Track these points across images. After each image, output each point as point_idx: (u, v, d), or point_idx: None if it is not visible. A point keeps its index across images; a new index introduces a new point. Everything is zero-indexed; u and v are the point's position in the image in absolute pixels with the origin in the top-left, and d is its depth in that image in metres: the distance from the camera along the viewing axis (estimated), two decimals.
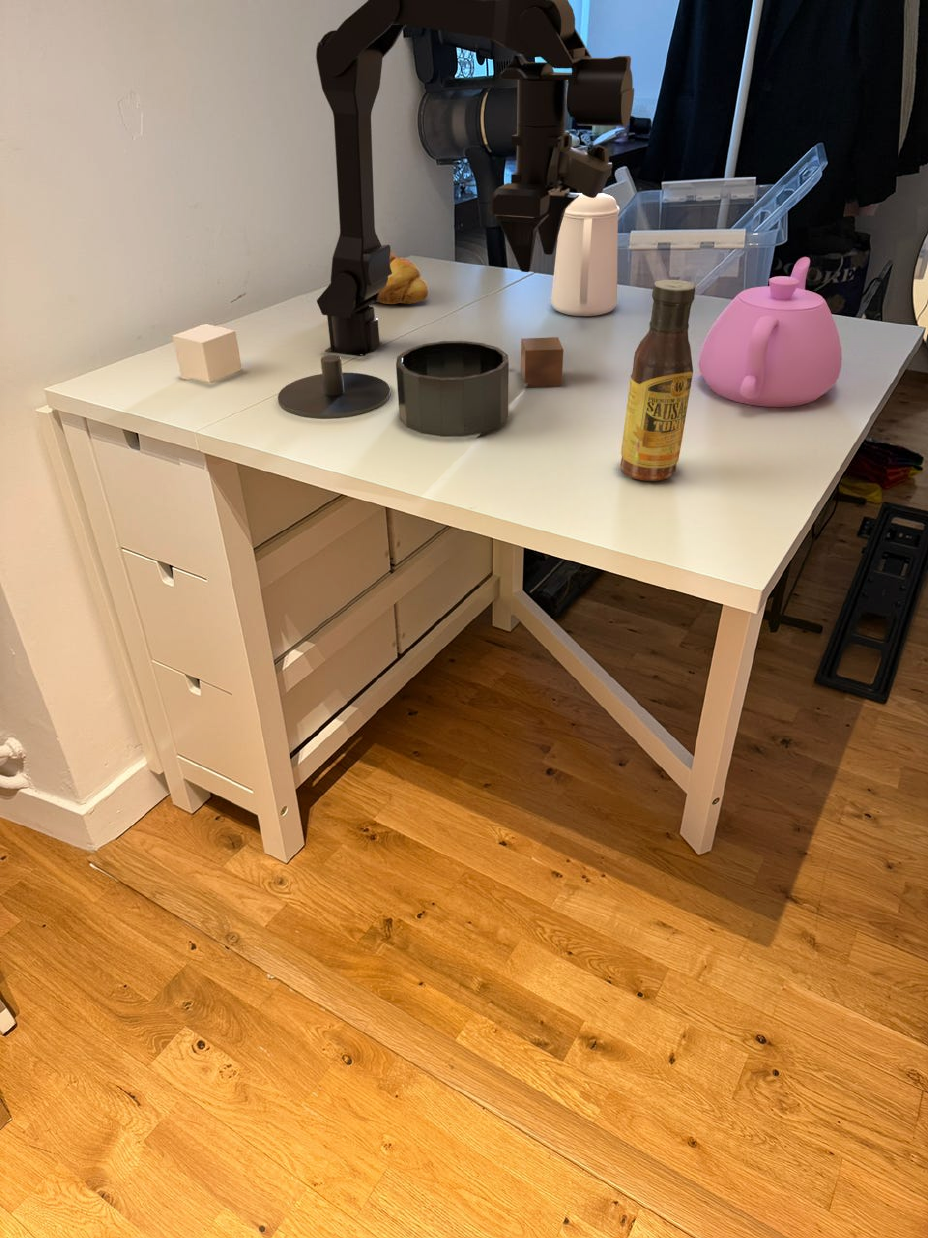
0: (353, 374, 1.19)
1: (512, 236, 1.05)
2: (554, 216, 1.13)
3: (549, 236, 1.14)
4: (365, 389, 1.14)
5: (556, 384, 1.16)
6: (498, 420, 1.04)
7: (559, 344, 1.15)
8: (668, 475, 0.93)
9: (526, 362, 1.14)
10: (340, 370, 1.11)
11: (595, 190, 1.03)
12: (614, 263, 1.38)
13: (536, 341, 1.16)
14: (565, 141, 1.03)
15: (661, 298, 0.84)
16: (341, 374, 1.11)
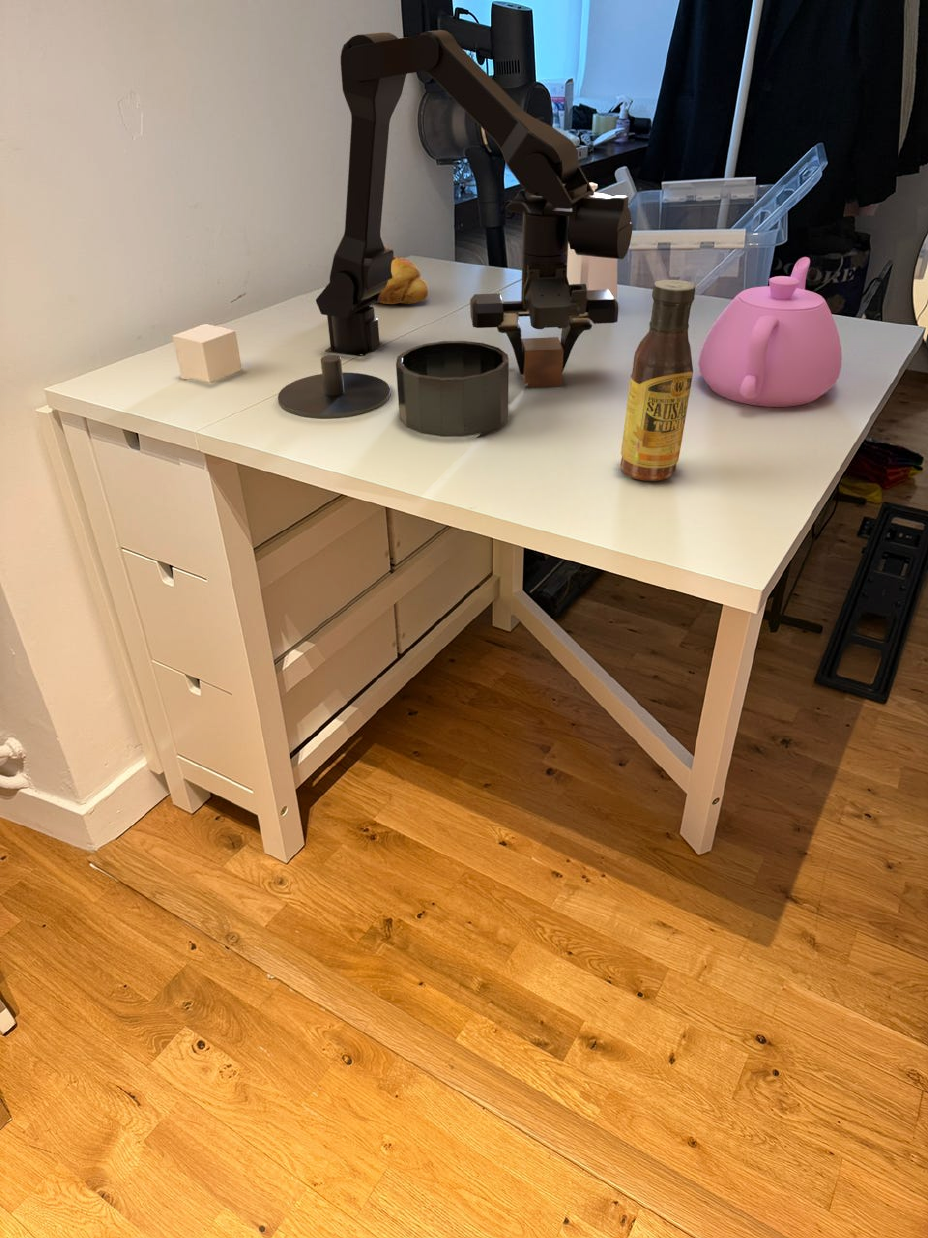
0: (353, 374, 1.19)
1: None
2: (564, 339, 1.15)
3: None
4: (365, 389, 1.14)
5: (556, 384, 1.16)
6: (498, 420, 1.04)
7: (559, 344, 1.15)
8: (668, 475, 0.93)
9: (526, 362, 1.14)
10: (340, 370, 1.11)
11: (535, 322, 1.06)
12: (614, 263, 1.38)
13: (536, 341, 1.16)
14: (552, 272, 1.07)
15: (661, 298, 0.84)
16: (341, 374, 1.11)
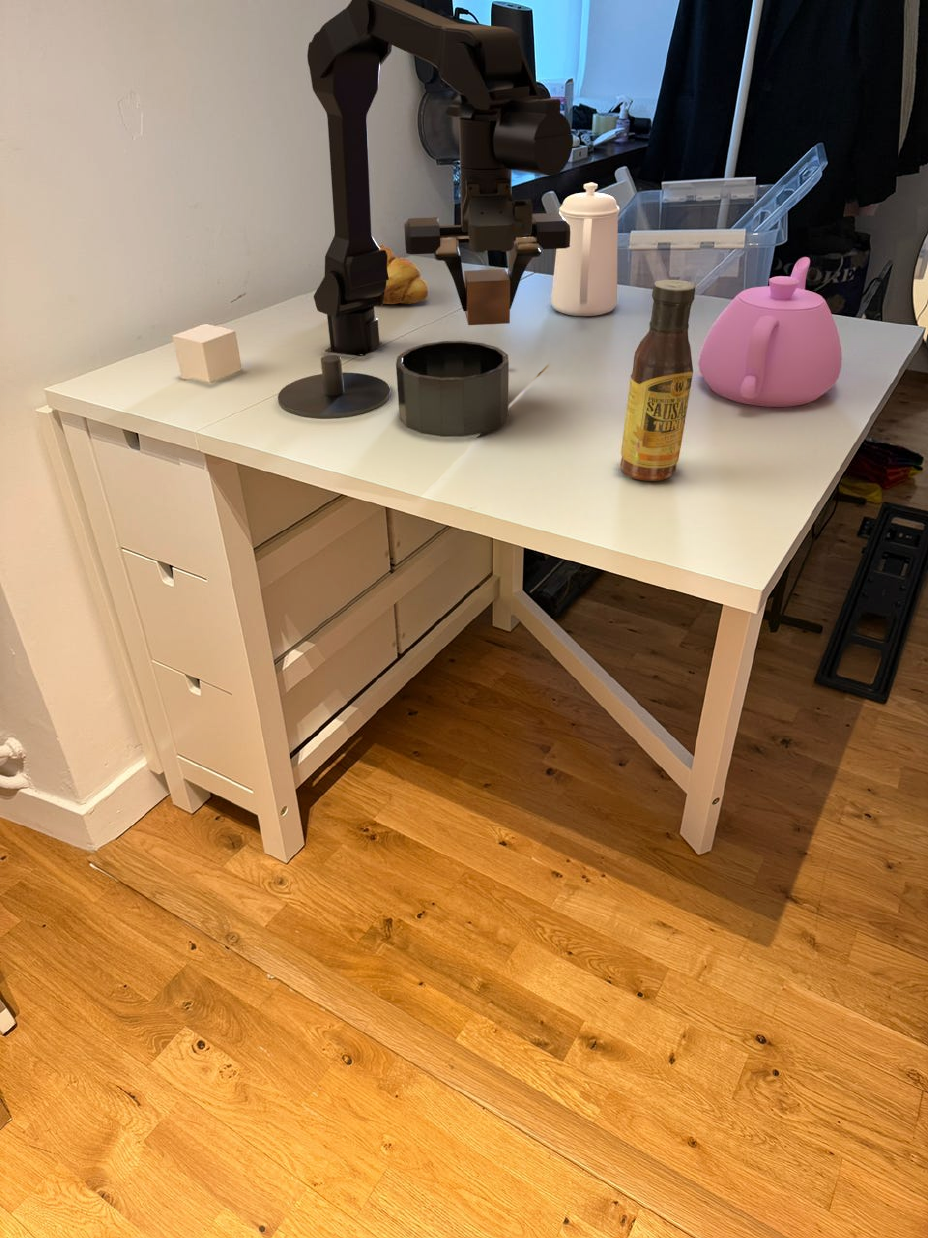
0: (353, 374, 1.19)
1: None
2: (511, 269, 1.02)
3: None
4: (365, 389, 1.14)
5: (503, 321, 1.03)
6: (498, 420, 1.04)
7: (506, 275, 1.02)
8: (668, 475, 0.93)
9: (469, 295, 1.01)
10: (340, 370, 1.11)
11: (474, 244, 0.93)
12: (614, 263, 1.38)
13: (480, 273, 1.03)
14: (494, 187, 0.95)
15: (661, 298, 0.84)
16: (341, 374, 1.11)
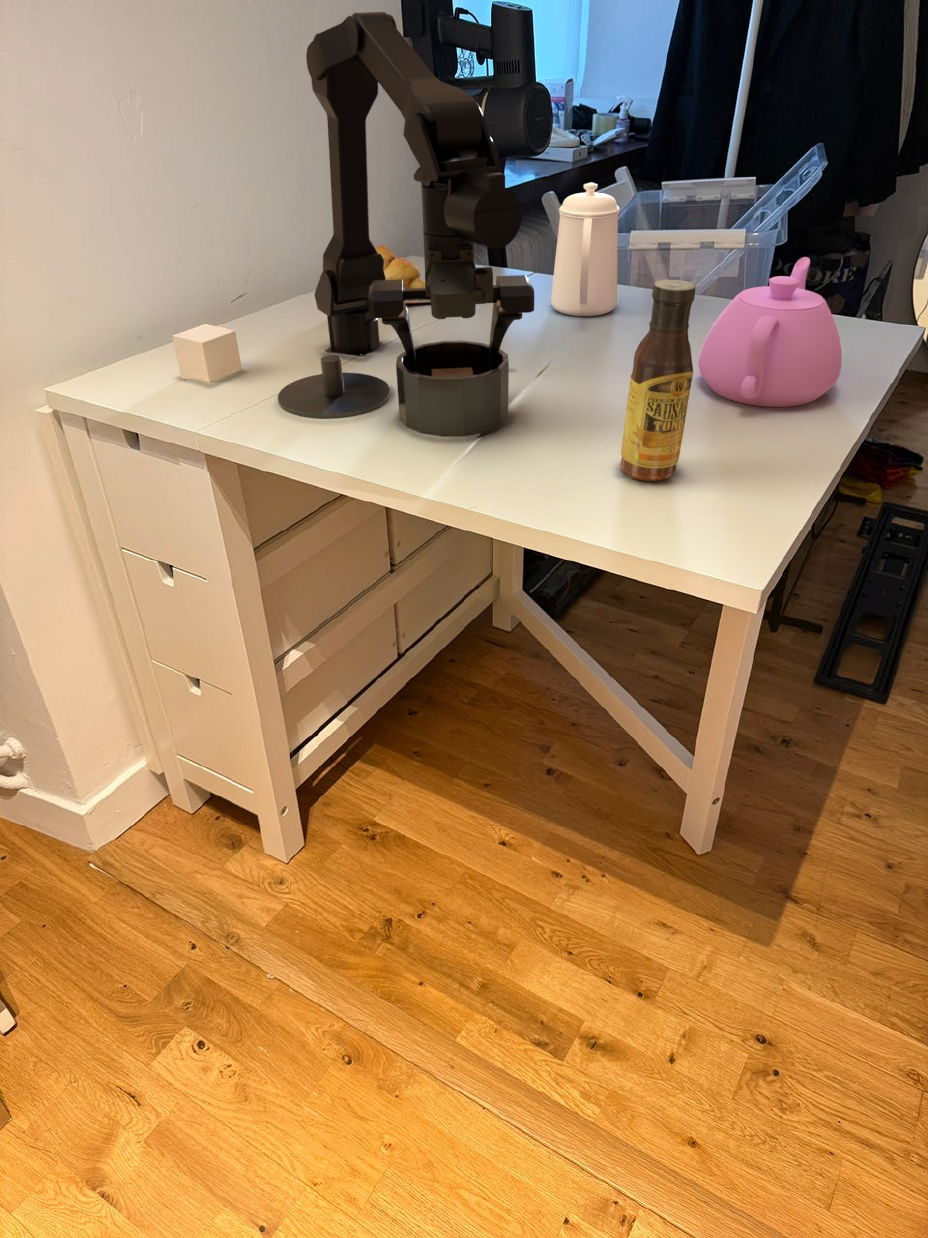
0: (353, 374, 1.19)
1: None
2: (493, 330, 1.02)
3: (491, 349, 1.04)
4: (365, 389, 1.14)
5: None
6: (498, 420, 1.04)
7: None
8: (668, 475, 0.93)
9: None
10: (340, 370, 1.11)
11: (435, 311, 0.93)
12: (614, 263, 1.38)
13: (447, 372, 1.06)
14: (456, 254, 0.94)
15: (661, 298, 0.84)
16: (341, 374, 1.11)
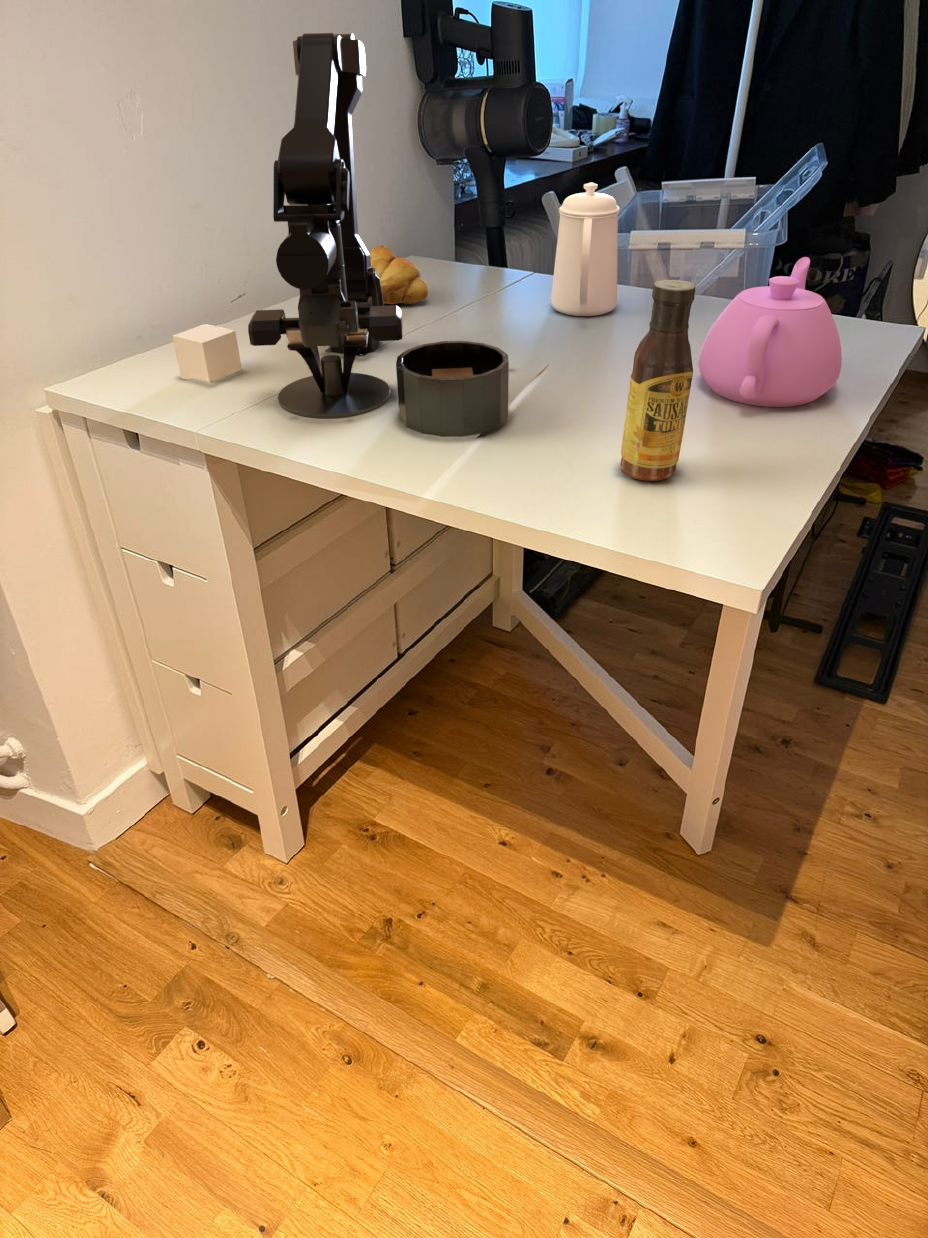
0: (353, 374, 1.19)
1: None
2: None
3: None
4: (365, 389, 1.14)
5: None
6: (498, 420, 1.04)
7: None
8: (668, 475, 0.93)
9: None
10: (340, 370, 1.11)
11: (304, 341, 1.02)
12: (614, 263, 1.38)
13: (447, 372, 1.06)
14: (325, 288, 1.03)
15: (661, 298, 0.84)
16: (341, 374, 1.11)
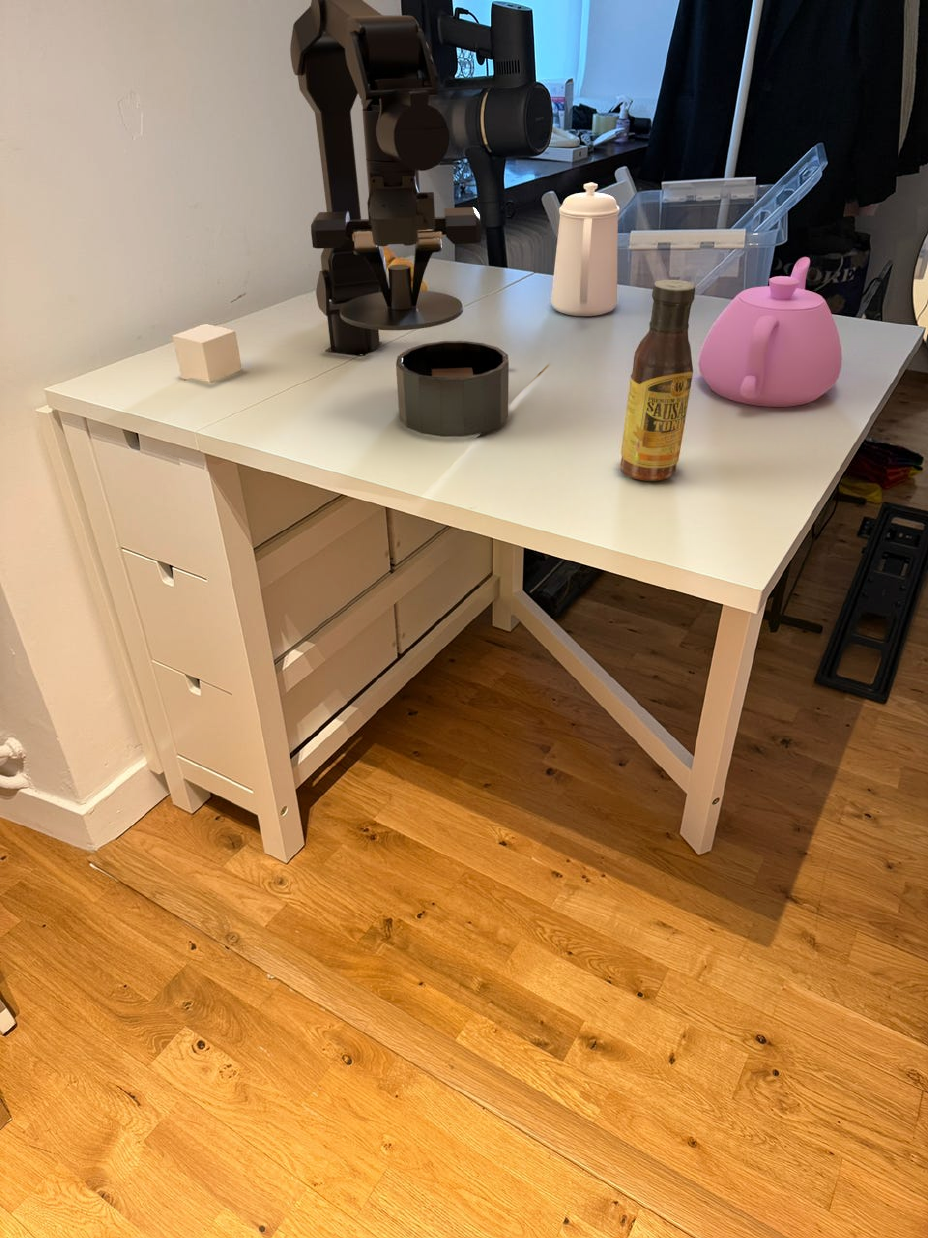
0: (420, 291, 1.08)
1: None
2: None
3: None
4: (435, 304, 1.03)
5: None
6: (498, 420, 1.04)
7: None
8: (668, 475, 0.93)
9: None
10: (409, 280, 1.00)
11: (376, 237, 0.91)
12: (614, 263, 1.38)
13: (447, 372, 1.06)
14: (399, 180, 0.92)
15: (661, 298, 0.84)
16: (410, 285, 1.01)
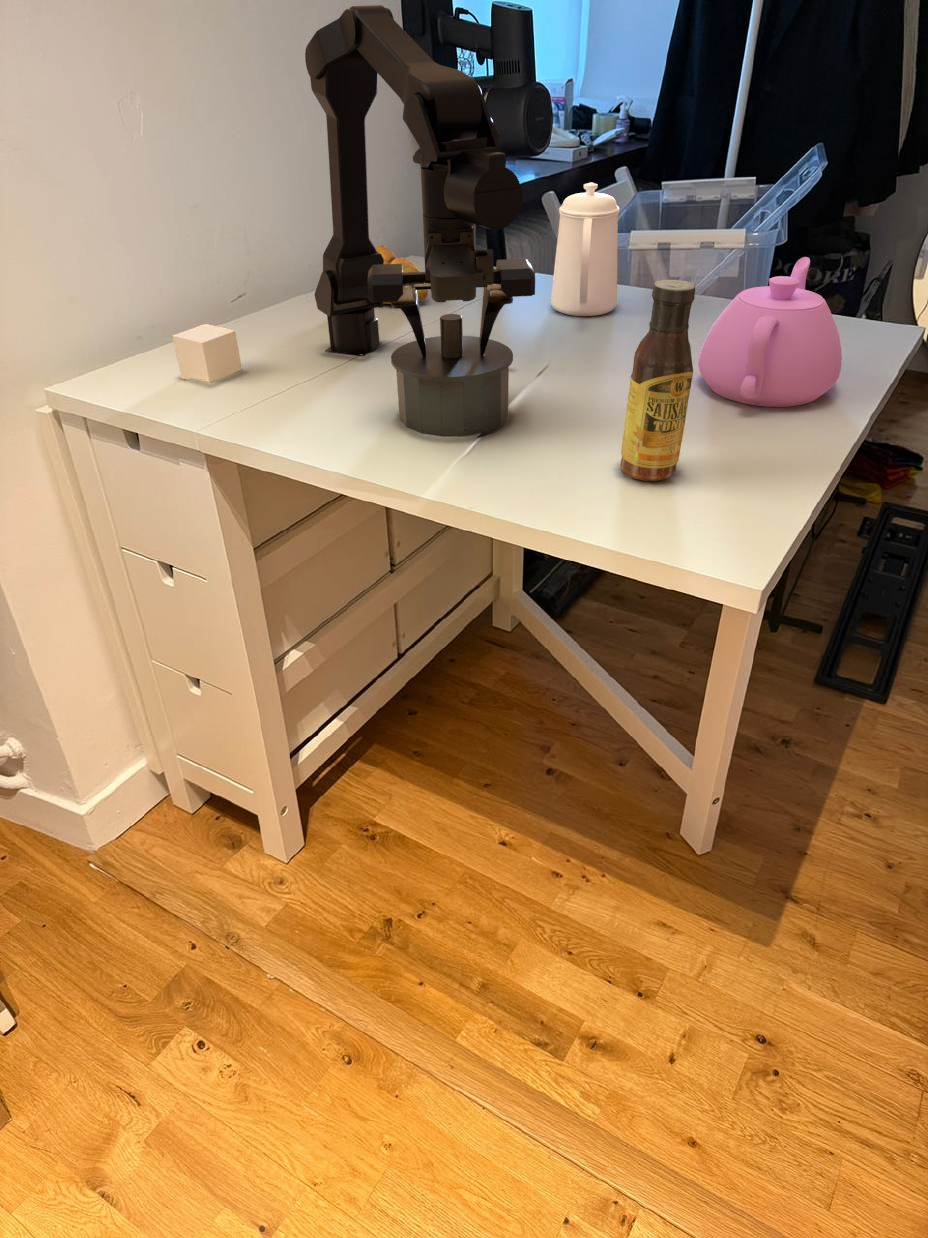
0: (467, 337, 1.09)
1: None
2: (483, 315, 1.01)
3: (482, 334, 1.03)
4: (485, 352, 1.04)
5: None
6: (498, 420, 1.04)
7: None
8: (668, 475, 0.93)
9: None
10: (461, 330, 1.02)
11: (435, 294, 0.92)
12: (614, 263, 1.38)
13: None
14: (456, 236, 0.93)
15: (661, 298, 0.84)
16: (461, 334, 1.02)
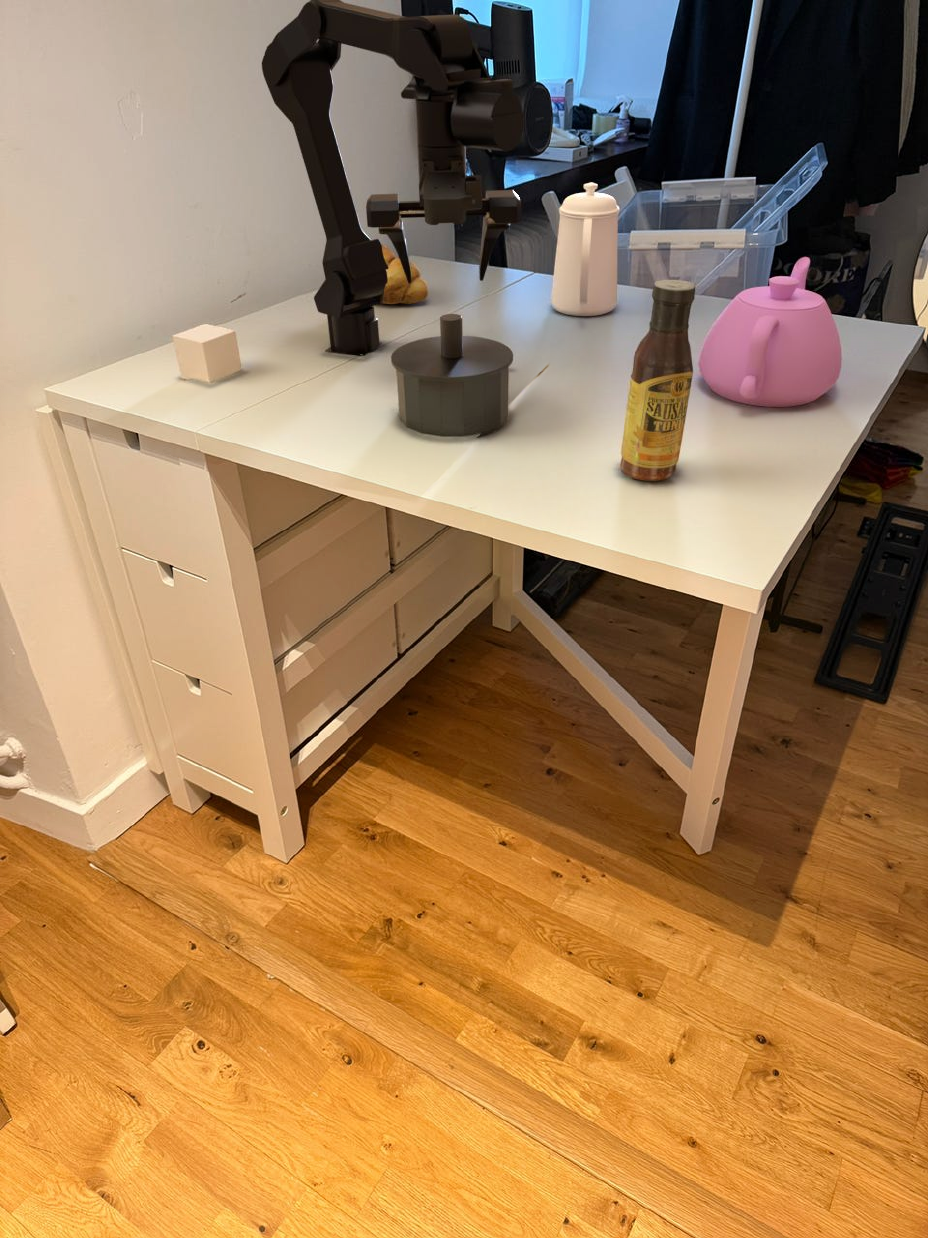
0: (467, 337, 1.09)
1: None
2: (482, 242, 1.09)
3: (481, 261, 1.11)
4: (485, 352, 1.04)
5: None
6: (498, 420, 1.04)
7: None
8: (668, 475, 0.93)
9: None
10: (461, 330, 1.02)
11: (428, 217, 1.00)
12: (614, 263, 1.38)
13: None
14: (448, 165, 1.01)
15: (661, 298, 0.84)
16: (461, 334, 1.02)
